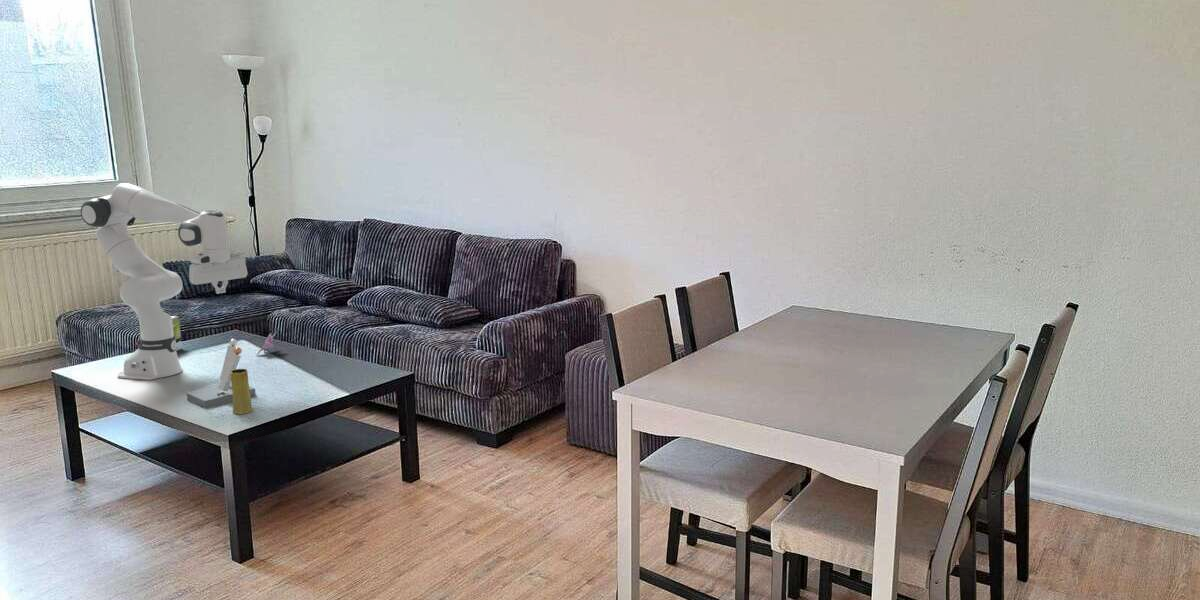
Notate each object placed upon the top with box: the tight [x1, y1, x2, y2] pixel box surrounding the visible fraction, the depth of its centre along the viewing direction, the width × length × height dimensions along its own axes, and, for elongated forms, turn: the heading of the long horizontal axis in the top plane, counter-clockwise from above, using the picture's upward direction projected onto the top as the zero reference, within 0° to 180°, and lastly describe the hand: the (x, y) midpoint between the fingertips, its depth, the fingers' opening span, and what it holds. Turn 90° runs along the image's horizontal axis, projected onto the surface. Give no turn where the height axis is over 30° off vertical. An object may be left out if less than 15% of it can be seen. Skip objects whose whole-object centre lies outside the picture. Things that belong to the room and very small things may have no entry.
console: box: [186, 383, 257, 409], centre depth 305 cm, size 18×14×3 cm
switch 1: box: [219, 338, 238, 382], centre depth 311 cm, size 3×4×16 cm
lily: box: [256, 332, 280, 356], centre depth 361 cm, size 12×12×10 cm
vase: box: [230, 368, 253, 415], centre depth 289 cm, size 6×6×14 cm
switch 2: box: [218, 346, 243, 391], centre depth 302 cm, size 3×4×16 cm
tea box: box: [138, 315, 183, 352], centre depth 363 cm, size 15×10×15 cm
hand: (220, 293), depth 316 cm, fingers closed
